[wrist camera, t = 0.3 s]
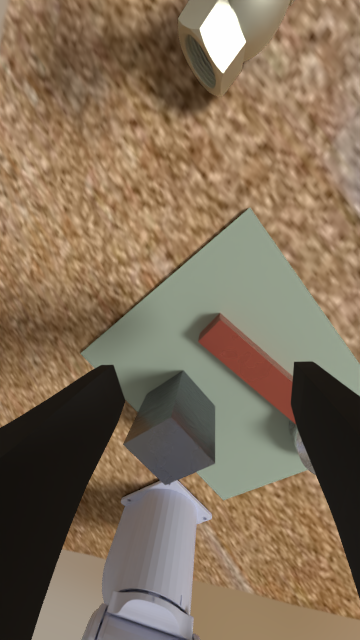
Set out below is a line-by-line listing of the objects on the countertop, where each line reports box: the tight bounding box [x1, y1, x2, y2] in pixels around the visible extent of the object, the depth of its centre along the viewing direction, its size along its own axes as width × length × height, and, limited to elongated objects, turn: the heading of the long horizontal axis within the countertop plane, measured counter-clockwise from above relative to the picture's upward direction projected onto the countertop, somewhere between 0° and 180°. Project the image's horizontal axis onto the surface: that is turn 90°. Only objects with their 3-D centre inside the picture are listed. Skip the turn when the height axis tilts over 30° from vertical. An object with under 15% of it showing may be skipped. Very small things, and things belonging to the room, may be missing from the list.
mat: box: [80, 208, 360, 500], centre depth 20 cm, size 20×24×1 cm
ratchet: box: [198, 313, 316, 475], centre depth 17 cm, size 18×7×6 cm, turn 50°
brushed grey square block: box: [123, 370, 215, 485], centre depth 19 cm, size 5×5×6 cm
